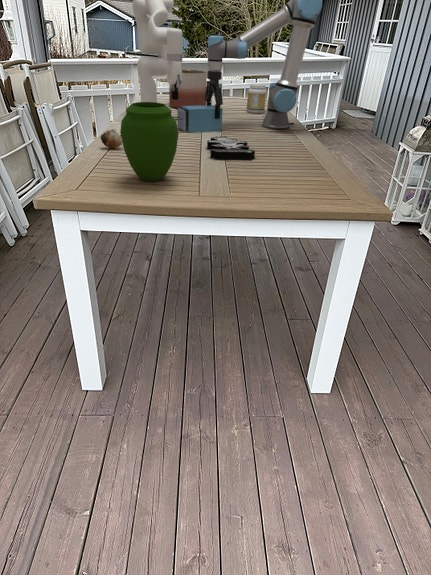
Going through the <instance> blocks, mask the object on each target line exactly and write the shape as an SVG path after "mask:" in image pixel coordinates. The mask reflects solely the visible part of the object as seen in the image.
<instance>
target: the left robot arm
mask: <svg viewBox="0 0 431 575" xmlns="http://www.w3.org/2000/svg"><path fill="white" fill-rule="evenodd" d="M174 5H175V2H174V0H132V5H131V6H132V14H133V16H134V19H135V23H136V28H137V42H138V44H137V45H138V49H139V52H140V53H141V54H144V55H156V56H141V57H140V58H138V60H137V62H136V65H137V71H138V77H139V93H140V94H139V95H140V102H156V103H158V96H157V95H158V94H157V93H158V92H157V90H158V89H157V83H156V80H155V79H154V78H153V77H163V76H166V83H167V84H170V85H171V90H172V91H171V98H172V99H173V100H178V91H179V88H180V85H181V84H182V70H183V69H182V68H183V67H182V63H183V30H182V29H180V28H176V27H167V26H163V25H165V24H166V23H167V21H168V19H169V14H170V13H171V12H172V11H173V9H174V7H175V6H174ZM149 16H150V17H149Z"/></svg>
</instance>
